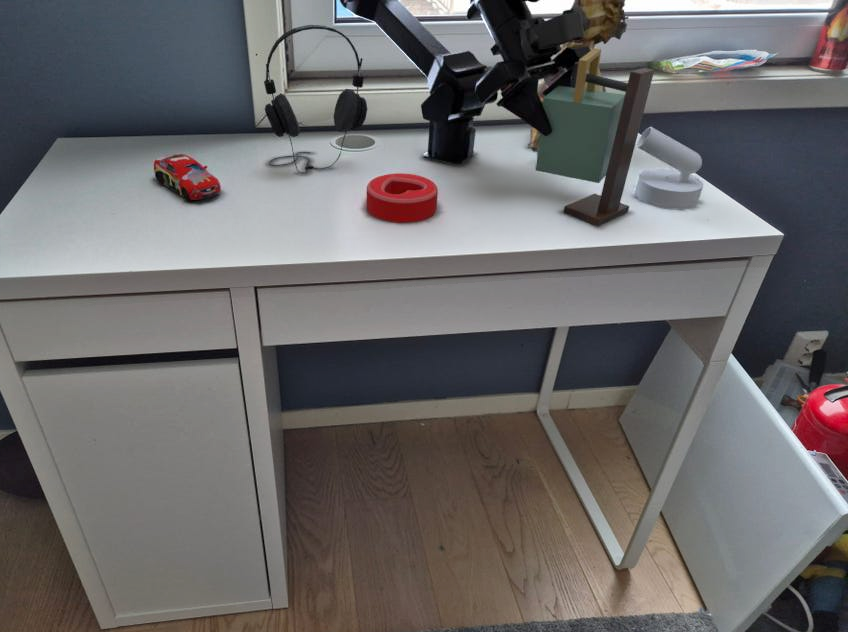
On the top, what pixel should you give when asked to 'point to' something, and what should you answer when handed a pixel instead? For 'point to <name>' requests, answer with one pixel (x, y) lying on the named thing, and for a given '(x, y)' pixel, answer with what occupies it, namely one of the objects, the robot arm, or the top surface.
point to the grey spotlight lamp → (669, 173)
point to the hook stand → (616, 149)
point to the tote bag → (580, 127)
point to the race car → (186, 177)
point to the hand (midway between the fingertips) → (563, 129)
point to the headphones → (347, 107)
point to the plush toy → (592, 37)
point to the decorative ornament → (401, 198)
